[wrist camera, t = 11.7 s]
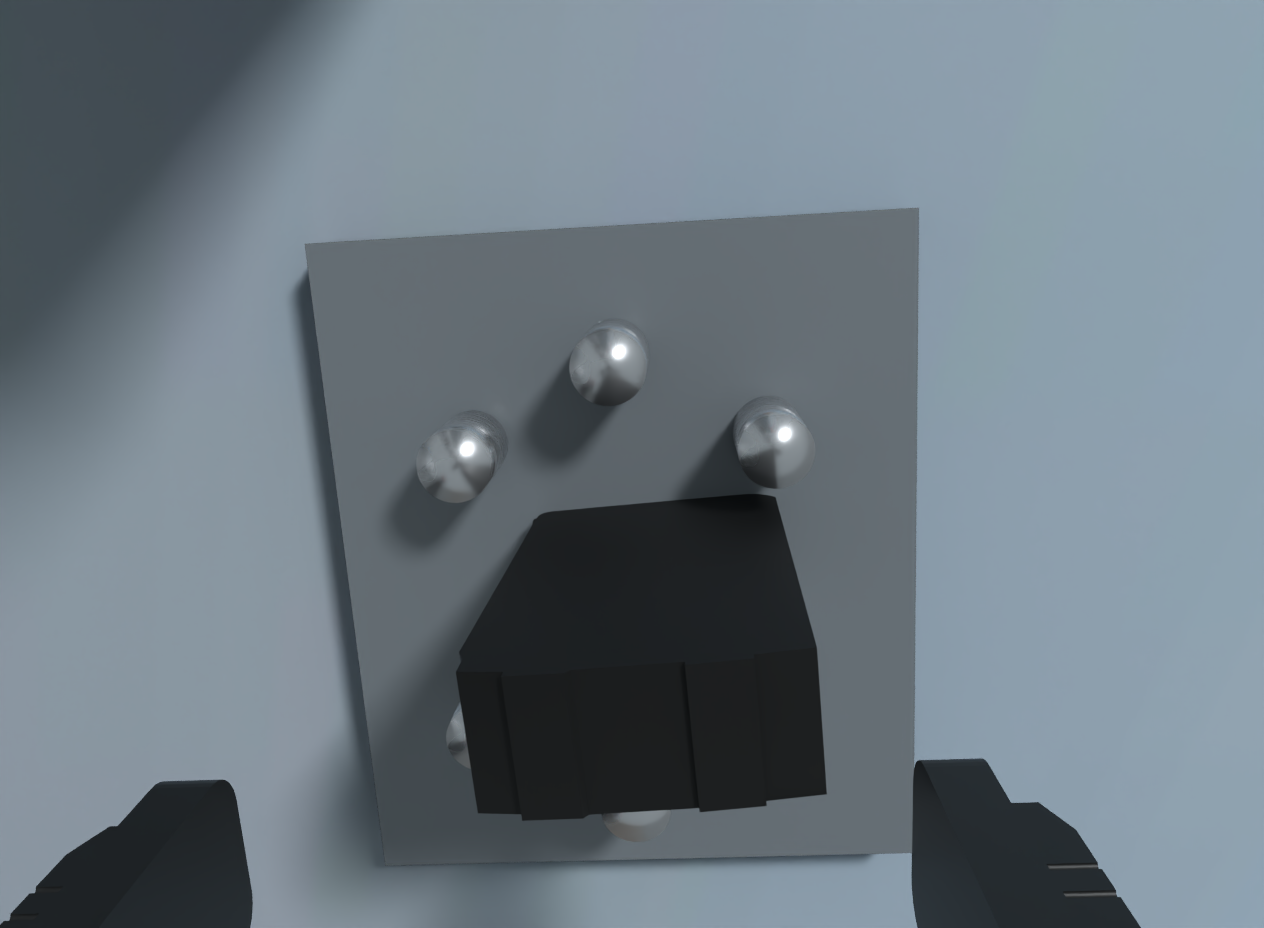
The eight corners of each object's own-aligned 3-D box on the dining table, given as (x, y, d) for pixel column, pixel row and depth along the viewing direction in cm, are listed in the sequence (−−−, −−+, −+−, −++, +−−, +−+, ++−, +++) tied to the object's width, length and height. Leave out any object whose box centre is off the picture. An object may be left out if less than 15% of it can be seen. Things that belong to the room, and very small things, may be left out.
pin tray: (399, 834, 24) (358, 924, 21) (325, 243, 21) (264, 246, 18) (901, 821, 24) (936, 912, 20) (904, 208, 20) (945, 205, 17)
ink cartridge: (550, 612, 21) (465, 832, 14) (537, 510, 21) (442, 679, 13) (781, 596, 21) (829, 815, 13) (774, 491, 21) (820, 655, 13)
